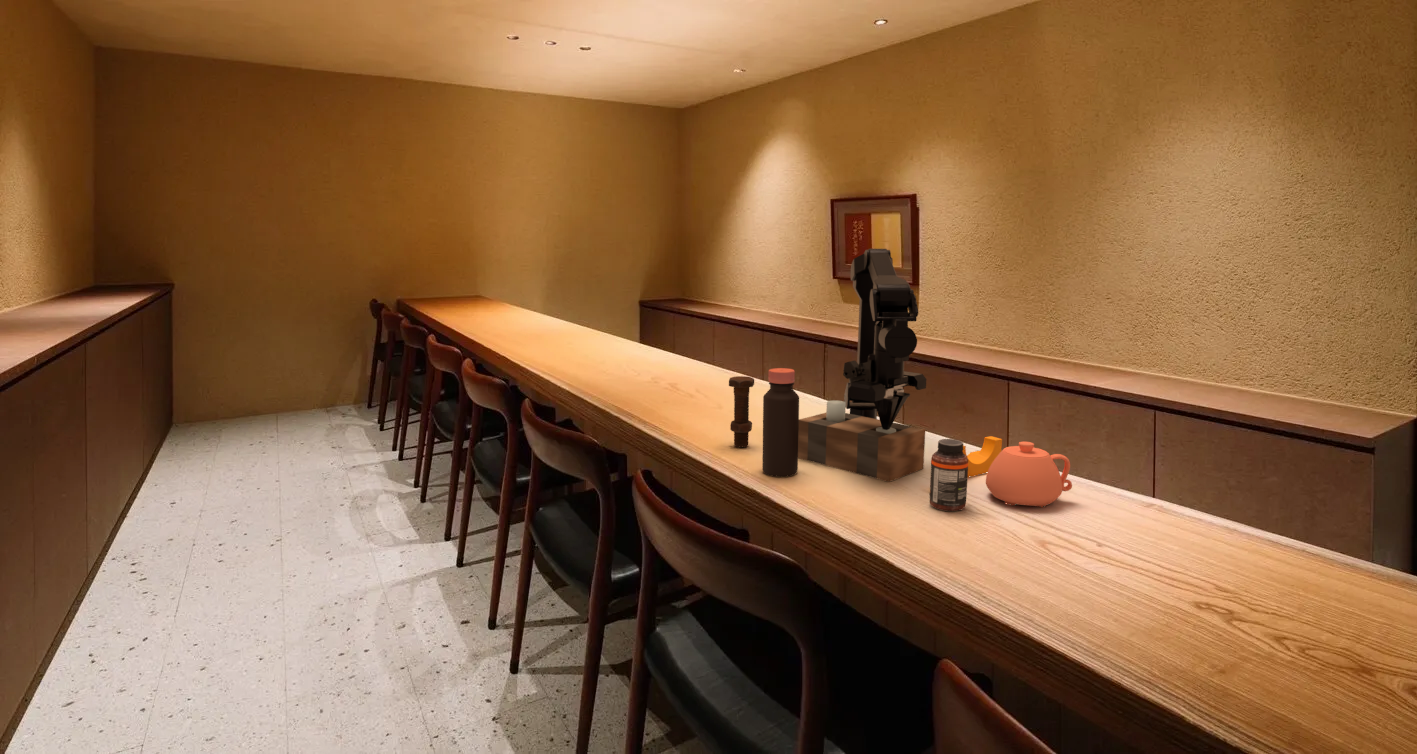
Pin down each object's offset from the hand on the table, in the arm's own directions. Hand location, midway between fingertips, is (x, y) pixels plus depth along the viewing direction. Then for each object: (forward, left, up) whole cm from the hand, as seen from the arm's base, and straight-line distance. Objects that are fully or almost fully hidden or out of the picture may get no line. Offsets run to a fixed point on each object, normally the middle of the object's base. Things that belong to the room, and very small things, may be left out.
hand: (885, 429), depth 148 cm
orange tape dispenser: (-10, +12, -8) cm, 18 cm away
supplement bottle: (+10, +19, -8) cm, 23 cm away
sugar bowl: (-3, +27, -8) cm, 28 cm away
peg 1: (0, -12, -4) cm, 13 cm away
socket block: (0, -6, -8) cm, 10 cm away
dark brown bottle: (+16, -13, -8) cm, 22 cm away
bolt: (+8, -31, -8) cm, 33 cm away
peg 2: (0, 0, -7) cm, 7 cm away
